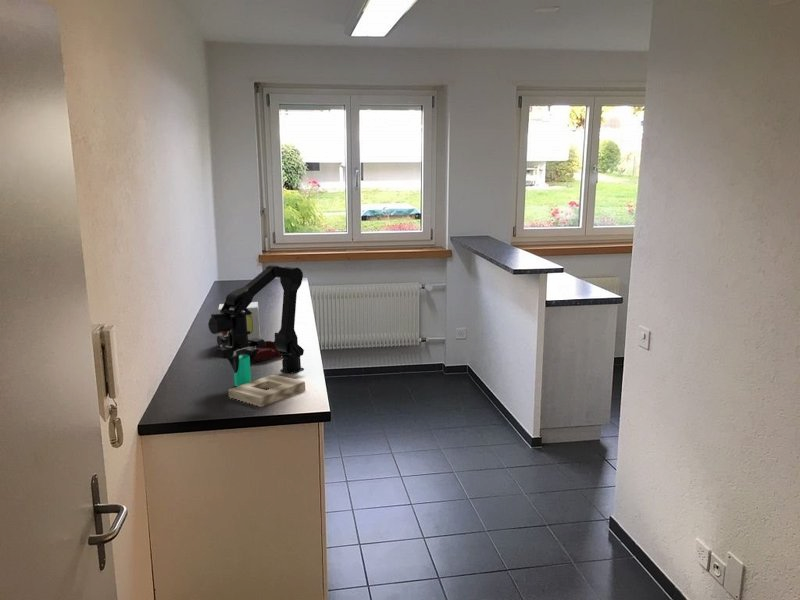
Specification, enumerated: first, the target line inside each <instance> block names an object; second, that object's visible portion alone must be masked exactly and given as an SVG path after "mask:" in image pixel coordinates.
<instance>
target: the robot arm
mask: <svg viewBox="0 0 800 600" xmlns="http://www.w3.org/2000/svg"><path fill="white" fill-rule="evenodd" d="M276 278H279V279H280V280H279V281H280V285H281V288H282V290H283V292H282V293H283V296H282V307H281V308H282V309H281V322H280V323H281V324H280V329H279V330H278V332H274V341H273V342H274V343H275V347H276V349H277V350H278V351H279V354H282V355H284V356H282V357H281V358H282V360H281V362H282V364H281V365H282V368H281V369H280V370H279V371H280V372H284V373H288V374H295V373H297V372H300V371H303V370H304V369H305V368H304V367H302V365H301V364H302V363H301V356H304V352H305V349H304V348H302V346H301V345H300V344H299V342H298V335H297V333H296V330H295V322H296V312H297V311H296V308H297V295H298V290H299V289H300V287H301V285H302V282H303V278H304V273H303V271H302V269H301V268H299V267H296V266H295V267H294V266H283V267H282V266H278V265H274V264H270V265H268V266H266V267H265V269H264V270H263V271H261V272H260V273H258V275H256V276H255V277H254V278H253V279H252V280H250V282H248V283H247V284H245V285H244V286H241V288H238V289H234V290H233V291H232V292H230V293H228V294H227V295H226V297H225V302H224V303H223V304H224V305H223V307H222V309H221V311H220V313H218V312H217V313H212V314H210V318H209V321H208V326H207V327H208V329H209V331H210V333H211V334H212V335H217V334H219V333H222V332H227V331H230V330H231V331H230V332H229V333H228V336H227V337H224V336H223V335H221V336H220V335H219V336H216V344H217V345H218V346H219V347H217V348H215V349H214V352H213V354H214V357H215V358H220V359H225V360H226V359H227V361H229V364H230V366H231V368H232V370H233V373H234V372H235V373H237V371H238V366H239V356H240V355H237V352H241V351H243V354H244V353H245V354H247V355H249V356H250V368H251V366H252V364H253V363H254V362H253V360H254V358H255V356H256V354H257V352H258V351H259V350H258V349H256V346H257V347H258V348H259V349H261V348H264V347H266V344H265V341H266V340H265V339H263V338H261V339H258V338H253V339H250V340H248V334H250V331H248V330H247V316H246V315H250V314H252V312H250V311H249V310H248V309H247V307H248V306H249V304H250V303H251V302H253V299H254V297H255V296H256V295H257V294H258V293H259V292H261V291H262V290H263V289H264V288H265V287H267V286H268V285H269V284H270V283H271V282H272V281H274V280H275V279H276ZM230 309H234V310H230ZM220 345H222V347H220ZM227 345H228V346H232V348H228V347H225V346H227Z"/></svg>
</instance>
